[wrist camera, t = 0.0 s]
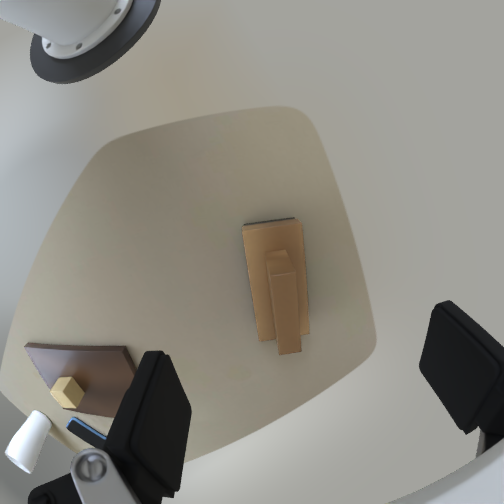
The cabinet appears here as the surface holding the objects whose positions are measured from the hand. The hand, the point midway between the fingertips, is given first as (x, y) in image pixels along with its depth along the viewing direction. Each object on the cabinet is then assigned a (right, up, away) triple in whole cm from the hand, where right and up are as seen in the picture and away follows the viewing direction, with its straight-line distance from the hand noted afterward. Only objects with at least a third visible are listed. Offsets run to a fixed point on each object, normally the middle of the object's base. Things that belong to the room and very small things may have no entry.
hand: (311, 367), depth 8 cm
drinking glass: (-47, -32, +29) cm, 64 cm away
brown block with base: (0, +2, +19) cm, 19 cm away
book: (-26, -16, +24) cm, 39 cm away
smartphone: (-32, -34, +30) cm, 55 cm away
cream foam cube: (-29, -16, +23) cm, 41 cm away
